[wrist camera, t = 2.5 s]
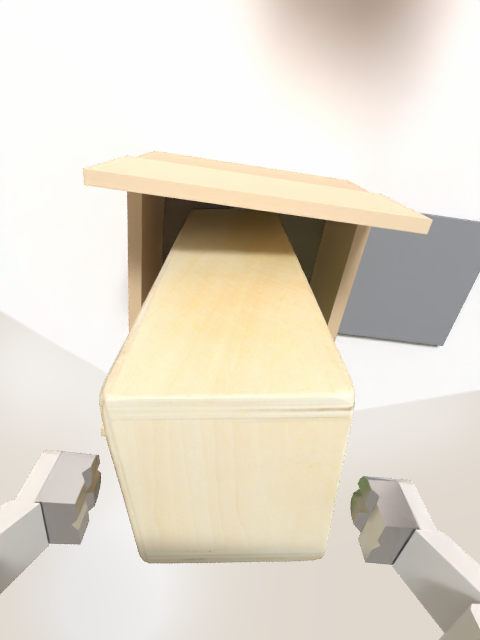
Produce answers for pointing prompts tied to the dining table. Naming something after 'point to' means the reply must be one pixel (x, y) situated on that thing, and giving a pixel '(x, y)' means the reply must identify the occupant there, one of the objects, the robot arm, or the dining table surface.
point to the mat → (413, 281)
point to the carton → (253, 193)
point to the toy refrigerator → (229, 401)
